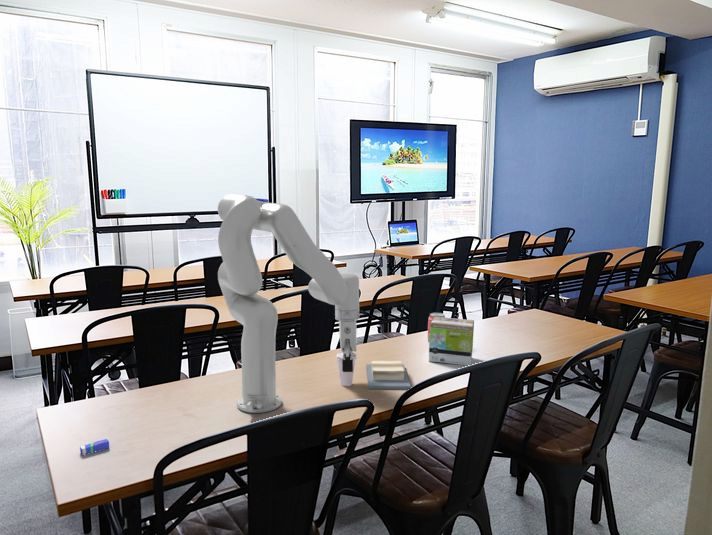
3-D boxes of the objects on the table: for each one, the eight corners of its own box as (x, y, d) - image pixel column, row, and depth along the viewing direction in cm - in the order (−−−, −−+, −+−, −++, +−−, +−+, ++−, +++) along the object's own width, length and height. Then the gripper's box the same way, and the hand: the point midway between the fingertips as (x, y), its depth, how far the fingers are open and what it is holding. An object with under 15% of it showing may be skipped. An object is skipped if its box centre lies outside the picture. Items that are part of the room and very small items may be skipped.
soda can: (447, 342, 217) (449, 313, 215) (440, 347, 211) (441, 317, 209) (431, 339, 221) (432, 311, 219) (424, 344, 215) (425, 314, 213)
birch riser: (403, 380, 173) (404, 371, 173) (372, 380, 173) (372, 371, 172) (400, 369, 183) (401, 360, 182) (371, 369, 183) (371, 360, 182)
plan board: (410, 389, 168) (410, 386, 168) (368, 388, 168) (368, 385, 168) (403, 367, 188) (403, 364, 188) (366, 367, 188) (366, 364, 188)
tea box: (428, 362, 194) (429, 322, 191) (431, 354, 203) (433, 315, 201) (470, 366, 190) (472, 325, 187) (472, 357, 199) (474, 318, 197)
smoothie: (360, 384, 172) (360, 341, 170) (346, 389, 167) (346, 346, 165) (345, 378, 176) (346, 337, 174) (331, 384, 172) (332, 341, 170)
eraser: (80, 453, 127) (79, 445, 127) (107, 446, 131) (106, 438, 131) (82, 457, 126) (81, 449, 125) (109, 449, 130) (109, 441, 129)
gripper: (359, 321, 160) (360, 376, 163) (358, 306, 177) (358, 356, 180) (334, 321, 160) (335, 376, 163) (335, 307, 177) (336, 357, 180)
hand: (347, 366), depth 171 cm, fingers open, 9 cm apart
